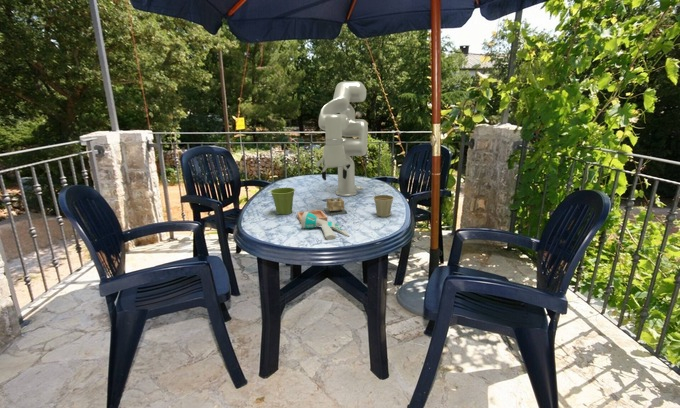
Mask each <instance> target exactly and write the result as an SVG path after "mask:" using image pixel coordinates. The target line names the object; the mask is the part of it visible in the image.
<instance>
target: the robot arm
mask: <svg viewBox="0 0 680 408" xmlns="http://www.w3.org/2000/svg"><path fill="white" fill-rule="evenodd" d="M334 89H335V90H334V94H333V97H332V98H333V99H331V100H330V101H328V102H327V103H326V104H324V105H323V107H322V108H321V109H320V113H319V115H318V127H319V128H320V130H323V131H324V133H325V145H323V150H322V158H321V159H320V160H317V161H316V162H315V165H316V167H317V168H318V169H319V170H320V171H321V178H322V179H323V181H327V172H326V170H327V169H328V168H329V169H331V168H337V190H336V191H335V195H337V196H339V197H353V196H356V195H357V194H358V191H363V189H364V188H363V186H360V185H357V186H356V185H355V181H356V180H355V179H356V178H355V171H356V170H355V167H356V166H355V161H354V160H353V159H352V157H363V156H365V155H366V154H367V151H368V138H369V137H368V136H369V133H368V131H369V127H368V122H367V121H366V120H365V119H361V118H360V119H359V118H358V119H357V118H356V111H355V109H354V107H353V106H352V104H350V103H361V102H364V101H365V100H366V98H367V89H366V87H365V85H364V84H363V82H361V81H357V80H356V81H355V80H354V81H341V82H339V83H337V85H336V86H335V88H334ZM343 137H345V138H343ZM346 137H347V138H346ZM349 137H350V138H349ZM353 137H354V138H353ZM355 137H357V138H355ZM321 164H322V165H321Z"/></svg>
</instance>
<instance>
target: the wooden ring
mask: <svg viewBox="0 0 680 408" xmlns="http://www.w3.org/2000/svg"><path fill="white" fill-rule="evenodd" d="M334 198H335V197H331V198H330V197H329V198H326V200H325V201H326V208H328V209H329V210H330V211H333V210H342V209H345V200H344V199H343V198H341V197H336V198H337V199H338V201H333V199H334Z"/></svg>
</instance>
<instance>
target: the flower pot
mask: <svg viewBox="0 0 680 408" xmlns="http://www.w3.org/2000/svg"><path fill="white" fill-rule="evenodd" d="M394 199H395V197H394V196H393V195H388V194H377V195H375V196H373V201H374V203H375V211H376V216H377V217H381V218H387V217H390V216H391V212H392V204H393V200H394Z"/></svg>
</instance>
